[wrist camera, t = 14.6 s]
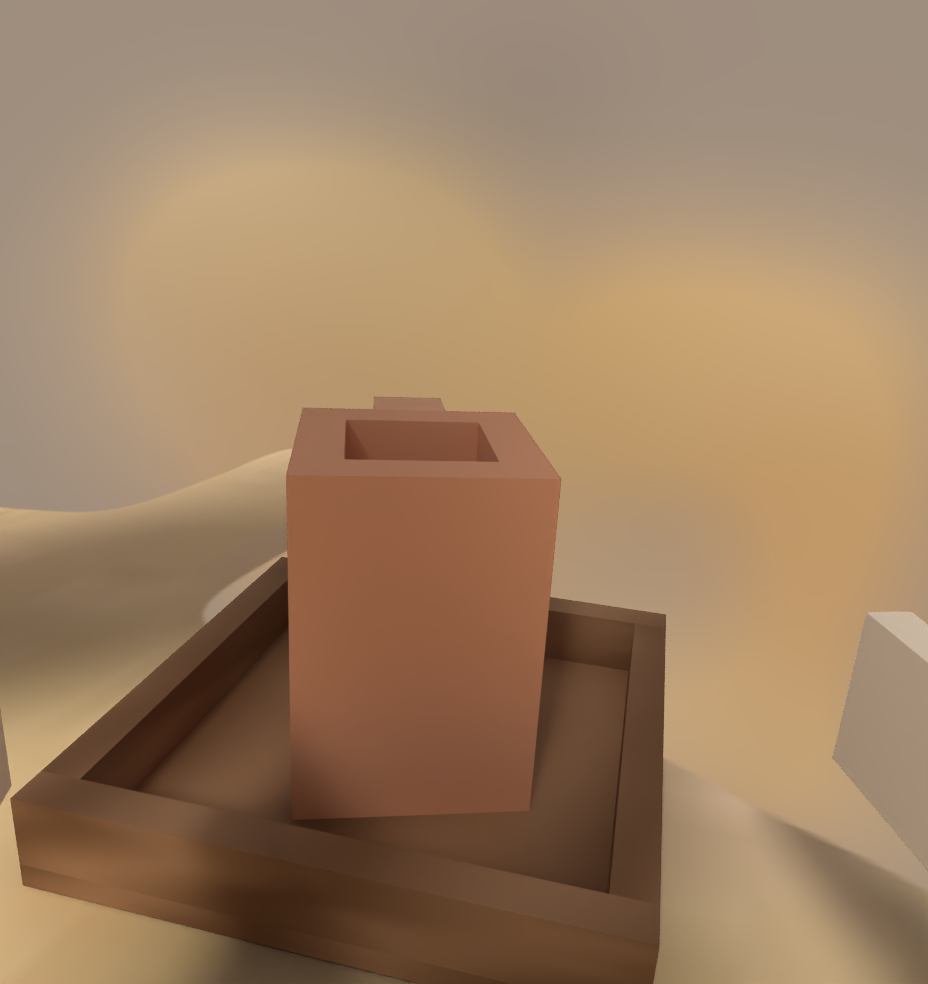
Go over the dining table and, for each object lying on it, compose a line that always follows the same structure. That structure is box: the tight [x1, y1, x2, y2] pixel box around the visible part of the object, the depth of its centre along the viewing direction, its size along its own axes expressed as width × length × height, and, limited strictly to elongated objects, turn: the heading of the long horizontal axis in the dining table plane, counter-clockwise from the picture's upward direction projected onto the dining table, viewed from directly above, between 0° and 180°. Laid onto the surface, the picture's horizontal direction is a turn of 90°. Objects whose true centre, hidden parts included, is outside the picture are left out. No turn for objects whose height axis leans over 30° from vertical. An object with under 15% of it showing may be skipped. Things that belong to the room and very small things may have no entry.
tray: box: [10, 557, 666, 984], centre depth 24 cm, size 14×14×2 cm
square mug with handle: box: [286, 397, 561, 820], centre depth 24 cm, size 6×8×9 cm
